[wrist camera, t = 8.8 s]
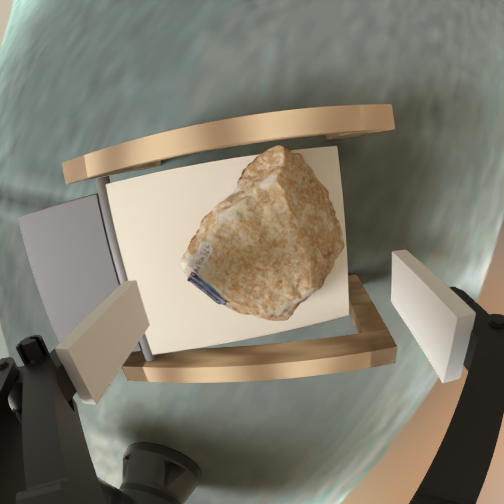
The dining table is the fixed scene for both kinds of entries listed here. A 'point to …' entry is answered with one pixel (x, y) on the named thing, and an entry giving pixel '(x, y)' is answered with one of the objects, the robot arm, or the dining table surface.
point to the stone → (267, 239)
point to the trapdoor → (162, 254)
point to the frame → (270, 355)
